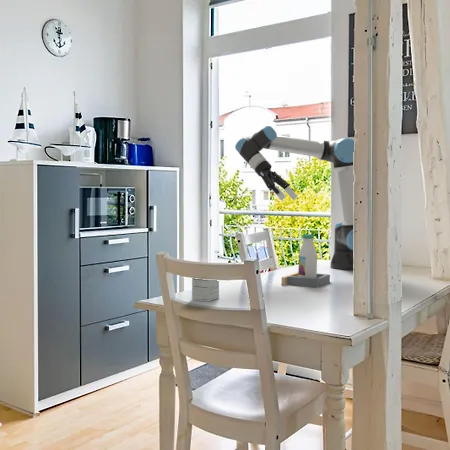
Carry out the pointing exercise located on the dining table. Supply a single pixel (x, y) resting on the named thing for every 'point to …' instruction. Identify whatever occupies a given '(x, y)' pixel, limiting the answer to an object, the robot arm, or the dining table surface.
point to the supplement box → (205, 289)
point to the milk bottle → (308, 258)
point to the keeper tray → (306, 280)
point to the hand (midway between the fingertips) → (289, 198)
